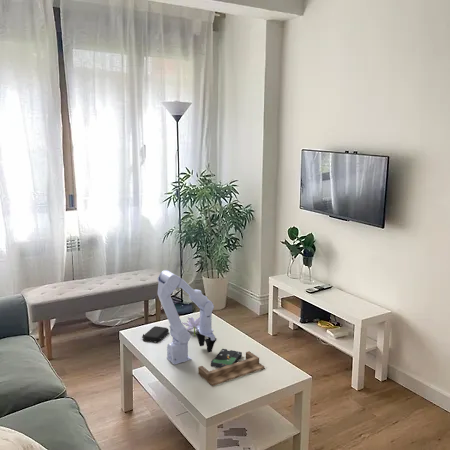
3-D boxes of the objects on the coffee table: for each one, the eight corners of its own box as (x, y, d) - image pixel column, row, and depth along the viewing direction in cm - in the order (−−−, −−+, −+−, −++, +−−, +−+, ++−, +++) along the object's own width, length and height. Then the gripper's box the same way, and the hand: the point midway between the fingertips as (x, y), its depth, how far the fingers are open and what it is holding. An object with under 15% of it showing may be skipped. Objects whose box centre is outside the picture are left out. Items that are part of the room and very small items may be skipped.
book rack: (212, 386, 199) (212, 378, 198) (198, 374, 209) (198, 366, 208) (264, 368, 214) (264, 361, 213) (249, 358, 224) (249, 351, 223)
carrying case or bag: (152, 329, 256) (139, 341, 242) (152, 324, 255) (139, 335, 241) (170, 332, 252) (158, 343, 239) (170, 327, 252) (157, 338, 238)
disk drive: (222, 353, 229) (210, 367, 216) (222, 348, 229) (210, 361, 215) (242, 357, 226) (231, 371, 212) (242, 351, 225) (231, 365, 212)
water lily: (188, 343, 254) (188, 327, 260) (213, 338, 250) (213, 322, 255) (175, 333, 244) (176, 317, 249) (201, 327, 239) (201, 311, 244)
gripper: (220, 326, 223) (220, 352, 226) (205, 316, 235) (205, 341, 238) (208, 329, 220) (208, 356, 222) (192, 319, 231) (193, 344, 234)
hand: (205, 348), depth 230 cm, fingers open, 7 cm apart
